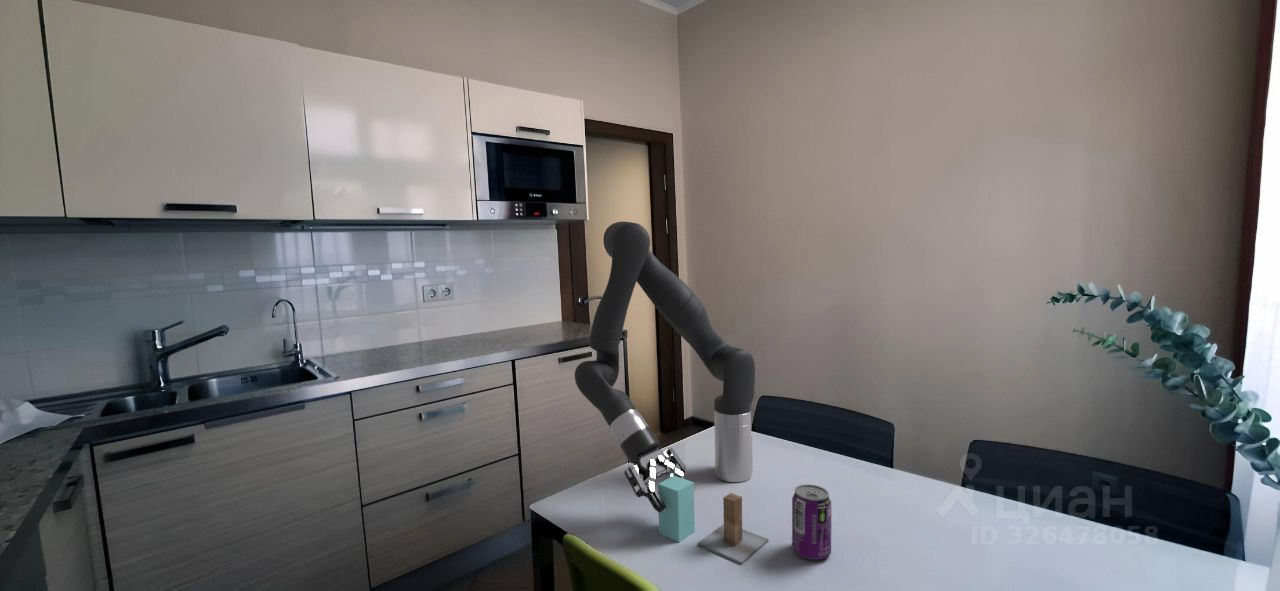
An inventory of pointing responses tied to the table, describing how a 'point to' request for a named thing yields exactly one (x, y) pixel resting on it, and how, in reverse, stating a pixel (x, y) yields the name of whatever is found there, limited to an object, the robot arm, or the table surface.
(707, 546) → the post
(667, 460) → the robot arm
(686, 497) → the tall teal block
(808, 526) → the beverage can
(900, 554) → the table surface
